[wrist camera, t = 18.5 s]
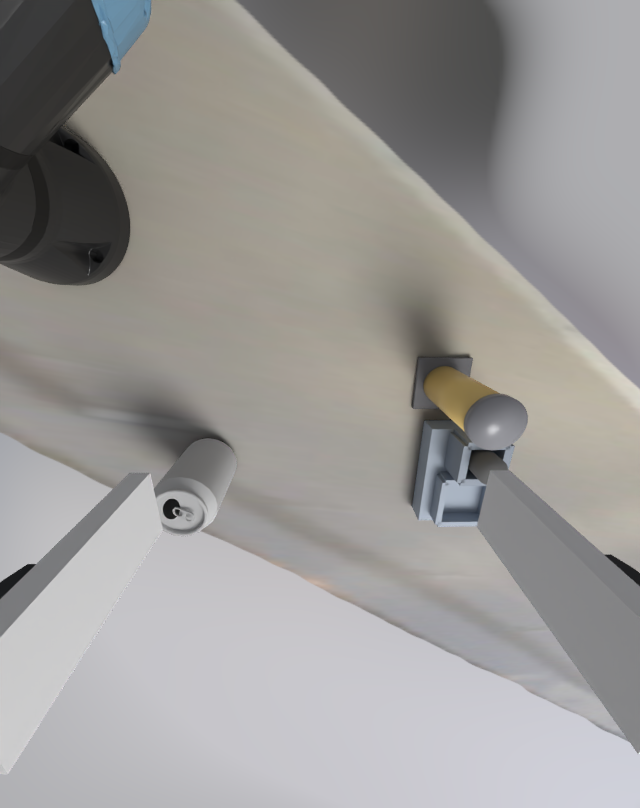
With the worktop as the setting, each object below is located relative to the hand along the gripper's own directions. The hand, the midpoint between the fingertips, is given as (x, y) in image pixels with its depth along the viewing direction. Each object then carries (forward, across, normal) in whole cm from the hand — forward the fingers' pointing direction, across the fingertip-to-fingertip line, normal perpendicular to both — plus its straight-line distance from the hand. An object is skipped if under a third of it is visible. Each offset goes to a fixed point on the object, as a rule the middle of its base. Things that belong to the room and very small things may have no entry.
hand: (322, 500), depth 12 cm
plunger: (+25, +21, -12) cm, 35 cm away
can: (+29, -15, -15) cm, 36 cm away
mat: (+29, +17, -4) cm, 34 cm away
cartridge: (+28, +17, -4) cm, 33 cm away
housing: (+29, +21, -16) cm, 39 cm away
